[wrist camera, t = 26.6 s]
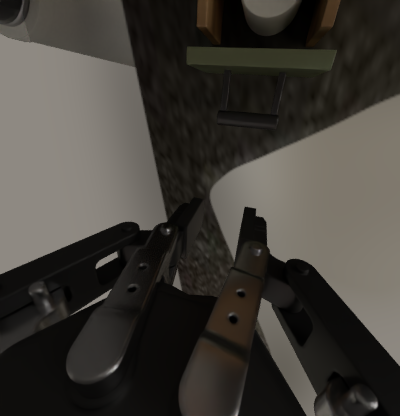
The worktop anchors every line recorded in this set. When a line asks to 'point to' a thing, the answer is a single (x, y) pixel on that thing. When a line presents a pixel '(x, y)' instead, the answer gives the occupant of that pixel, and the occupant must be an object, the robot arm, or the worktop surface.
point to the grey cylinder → (269, 15)
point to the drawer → (260, 59)
